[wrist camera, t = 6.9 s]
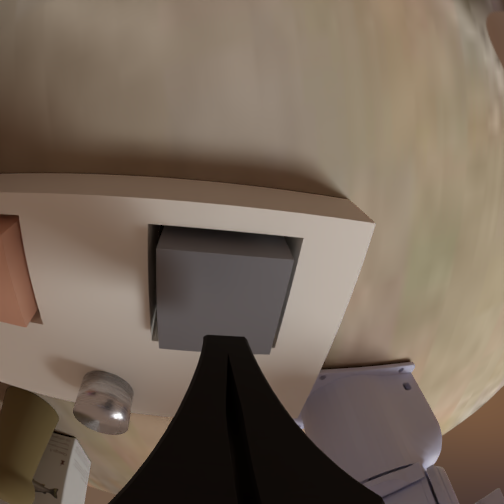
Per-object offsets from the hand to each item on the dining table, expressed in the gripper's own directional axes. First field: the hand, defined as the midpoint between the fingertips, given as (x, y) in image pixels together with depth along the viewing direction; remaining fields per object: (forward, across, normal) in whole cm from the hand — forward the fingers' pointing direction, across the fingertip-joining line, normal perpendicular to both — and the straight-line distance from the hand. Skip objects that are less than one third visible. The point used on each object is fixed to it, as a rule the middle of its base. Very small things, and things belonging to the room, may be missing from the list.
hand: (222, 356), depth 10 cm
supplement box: (+7, +17, +26) cm, 32 cm away
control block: (+6, +6, +3) cm, 9 cm away
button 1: (+7, 0, 0) cm, 7 cm away
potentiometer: (+3, +6, +7) cm, 10 cm away
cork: (+7, +17, +18) cm, 26 cm away
